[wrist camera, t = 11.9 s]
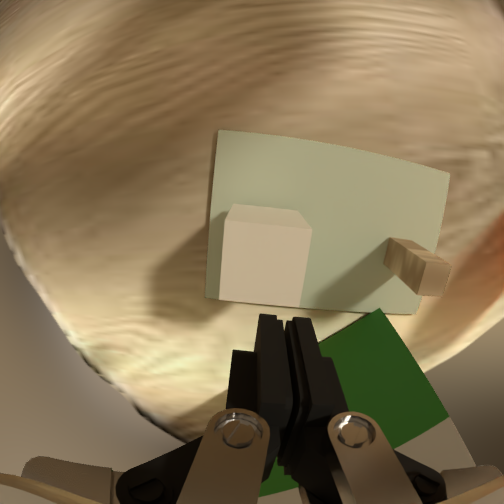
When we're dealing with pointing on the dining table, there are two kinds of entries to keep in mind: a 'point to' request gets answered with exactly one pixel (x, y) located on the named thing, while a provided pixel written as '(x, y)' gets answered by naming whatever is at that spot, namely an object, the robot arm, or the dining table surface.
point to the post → (417, 267)
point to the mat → (331, 213)
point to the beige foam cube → (264, 255)
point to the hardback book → (384, 401)
